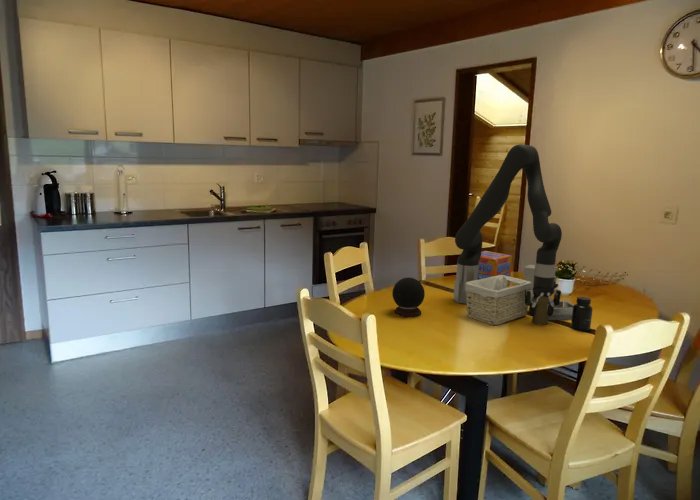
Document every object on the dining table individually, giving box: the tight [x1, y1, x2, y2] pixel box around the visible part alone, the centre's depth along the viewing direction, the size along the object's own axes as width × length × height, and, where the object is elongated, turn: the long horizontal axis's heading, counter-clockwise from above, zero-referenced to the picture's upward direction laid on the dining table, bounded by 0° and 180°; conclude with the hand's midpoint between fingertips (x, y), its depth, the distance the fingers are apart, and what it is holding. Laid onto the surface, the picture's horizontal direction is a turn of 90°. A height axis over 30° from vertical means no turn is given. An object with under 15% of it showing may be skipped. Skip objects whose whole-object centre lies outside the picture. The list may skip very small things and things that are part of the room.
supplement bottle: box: [570, 296, 594, 332], centre depth 190 cm, size 7×7×12 cm
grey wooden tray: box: [547, 300, 575, 321], centre depth 206 cm, size 16×12×4 cm
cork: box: [531, 296, 549, 326], centre depth 196 cm, size 6×6×11 cm
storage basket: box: [465, 275, 532, 326], centre depth 202 cm, size 24×16×15 cm
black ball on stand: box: [391, 277, 426, 318], centre depth 205 cm, size 13×13×15 cm
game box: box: [478, 250, 513, 287], centre depth 253 cm, size 16×16×16 cm
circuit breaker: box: [522, 264, 559, 300], centre depth 227 cm, size 8×14×15 cm, turn 53°
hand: (540, 315), depth 197 cm, fingers open, 6 cm apart
